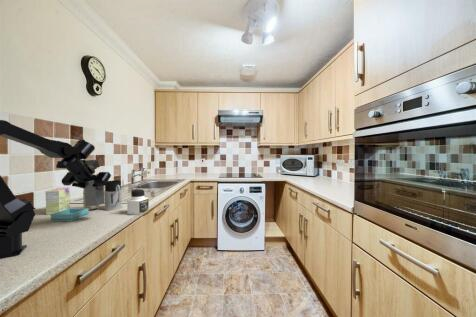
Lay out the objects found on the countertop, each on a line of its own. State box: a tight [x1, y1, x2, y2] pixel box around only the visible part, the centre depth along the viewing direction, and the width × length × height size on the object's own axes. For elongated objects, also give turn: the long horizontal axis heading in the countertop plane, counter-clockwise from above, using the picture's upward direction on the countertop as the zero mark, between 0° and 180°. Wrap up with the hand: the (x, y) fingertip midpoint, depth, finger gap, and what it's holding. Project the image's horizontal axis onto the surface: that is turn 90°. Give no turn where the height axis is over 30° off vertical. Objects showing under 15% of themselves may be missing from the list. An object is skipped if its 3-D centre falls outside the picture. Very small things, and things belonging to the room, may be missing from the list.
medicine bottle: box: [126, 188, 150, 216], centre depth 102 cm, size 7×7×12 cm
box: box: [45, 187, 71, 216], centre depth 104 cm, size 10×6×12 cm, turn 17°
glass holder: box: [103, 179, 123, 211], centre depth 109 cm, size 9×14×15 cm, turn 49°
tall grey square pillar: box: [85, 180, 105, 207], centre depth 92 cm, size 5×5×13 cm
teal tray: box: [50, 207, 89, 222], centre depth 94 cm, size 10×10×3 cm
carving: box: [82, 189, 99, 211], centre depth 108 cm, size 6×8×12 cm
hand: (97, 189), depth 93 cm, fingers closed on tall grey square pillar, 5 cm apart
